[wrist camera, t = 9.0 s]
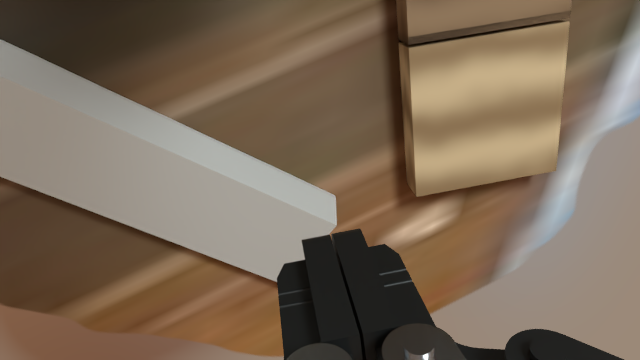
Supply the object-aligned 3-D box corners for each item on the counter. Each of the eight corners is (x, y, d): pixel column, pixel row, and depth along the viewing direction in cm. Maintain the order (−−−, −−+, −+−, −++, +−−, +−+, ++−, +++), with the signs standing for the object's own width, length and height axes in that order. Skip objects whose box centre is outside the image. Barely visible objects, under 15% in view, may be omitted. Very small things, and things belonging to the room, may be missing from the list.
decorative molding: (287, 250, 53) (335, 191, 48) (284, 285, 49) (336, 225, 44) (-51, 112, 42) (-38, 16, 37) (-88, 143, 39) (-79, 41, 33)
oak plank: (398, 42, 42) (408, 48, 39) (549, 17, 43) (569, 21, 40) (406, 183, 48) (416, 196, 46) (538, 158, 49) (556, 170, 46)
